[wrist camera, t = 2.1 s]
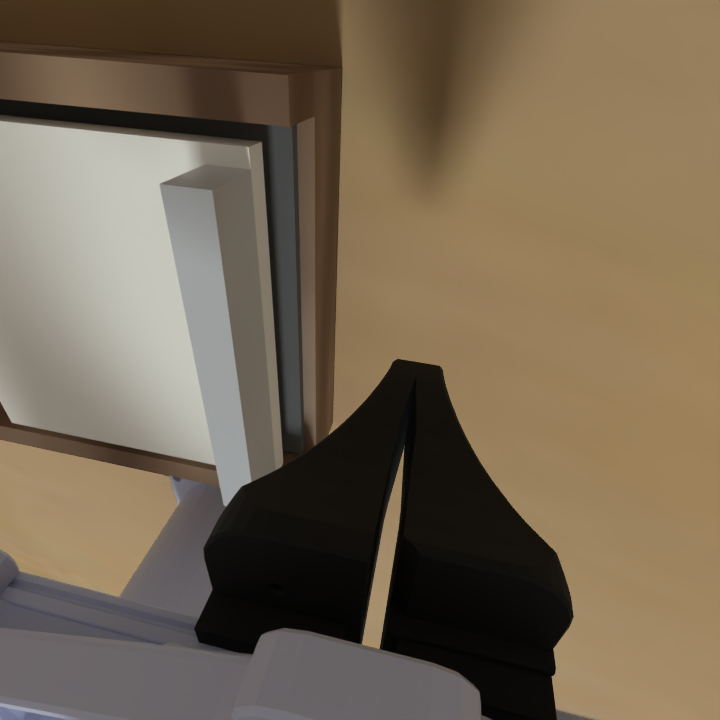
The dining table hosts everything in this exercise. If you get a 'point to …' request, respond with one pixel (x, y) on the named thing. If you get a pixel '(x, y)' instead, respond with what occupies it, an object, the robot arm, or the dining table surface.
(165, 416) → the sliding door
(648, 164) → the dining table surface
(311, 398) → the tray
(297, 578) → the robot arm
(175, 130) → the panel
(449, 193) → the dining table surface
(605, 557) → the dining table surface
